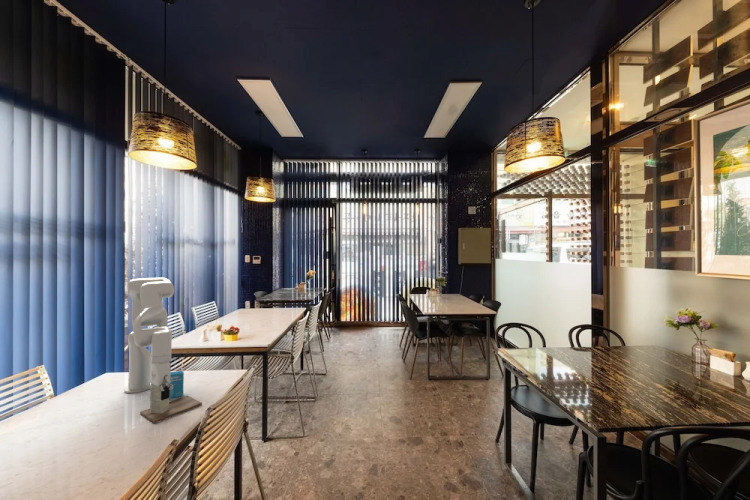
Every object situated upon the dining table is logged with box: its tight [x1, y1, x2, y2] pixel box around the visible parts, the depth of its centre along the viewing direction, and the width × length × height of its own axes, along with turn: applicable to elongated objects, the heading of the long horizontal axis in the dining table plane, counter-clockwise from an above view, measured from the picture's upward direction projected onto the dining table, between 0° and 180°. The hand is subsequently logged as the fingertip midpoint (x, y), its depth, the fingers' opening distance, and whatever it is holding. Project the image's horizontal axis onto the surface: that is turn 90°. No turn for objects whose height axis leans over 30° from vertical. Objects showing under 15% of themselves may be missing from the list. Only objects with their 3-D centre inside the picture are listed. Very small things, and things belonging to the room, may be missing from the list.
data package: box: [169, 370, 185, 400], centre depth 153 cm, size 12×4×12 cm, turn 122°
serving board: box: [139, 395, 203, 425], centre depth 141 cm, size 14×20×1 cm
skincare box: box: [149, 383, 170, 414], centre depth 137 cm, size 6×4×12 cm
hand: (160, 396), depth 137 cm, fingers open, 9 cm apart
